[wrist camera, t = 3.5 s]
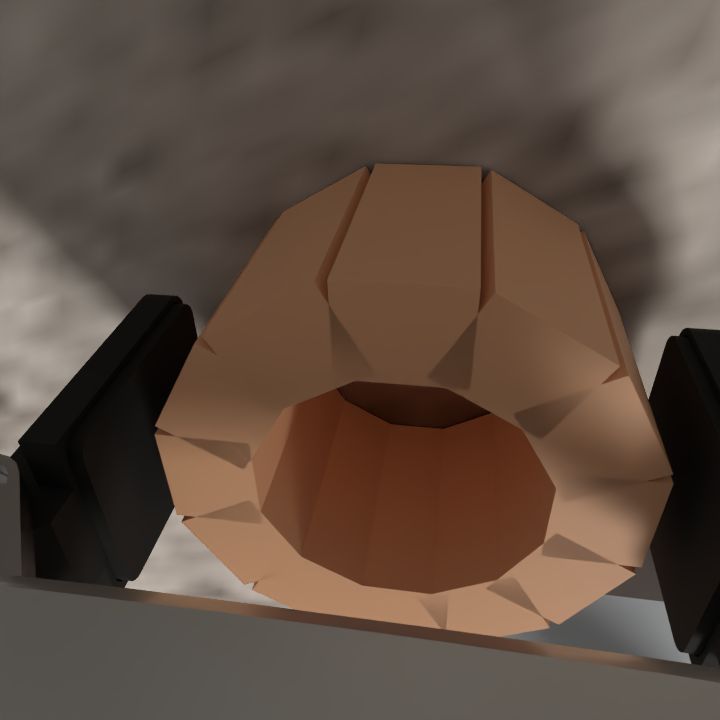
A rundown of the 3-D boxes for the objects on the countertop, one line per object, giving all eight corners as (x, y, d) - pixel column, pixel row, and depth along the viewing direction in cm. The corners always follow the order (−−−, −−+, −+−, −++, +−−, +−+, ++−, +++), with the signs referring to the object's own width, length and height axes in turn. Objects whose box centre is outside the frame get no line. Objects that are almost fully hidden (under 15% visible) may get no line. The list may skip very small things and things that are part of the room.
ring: (220, 158, 11) (107, 266, 7) (656, 171, 10) (742, 303, 7) (264, 458, 15) (204, 612, 12) (575, 489, 14) (604, 666, 11)
